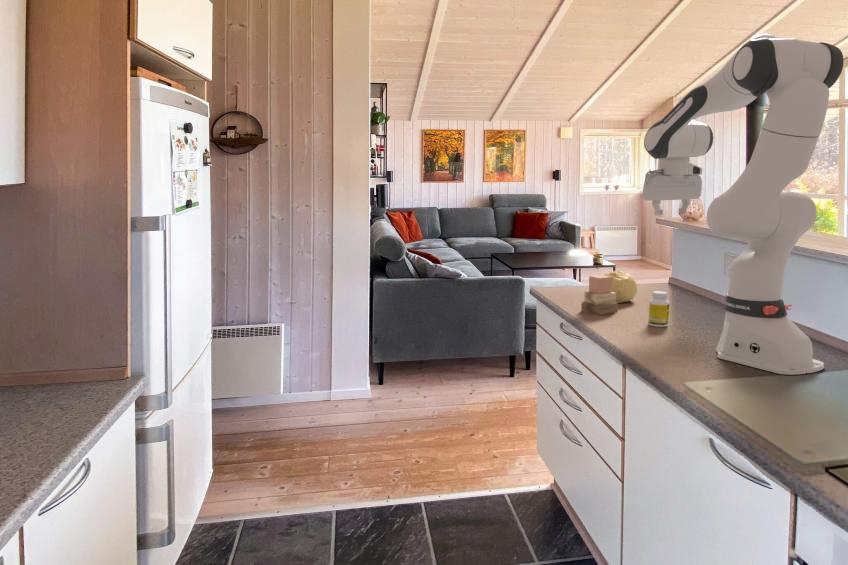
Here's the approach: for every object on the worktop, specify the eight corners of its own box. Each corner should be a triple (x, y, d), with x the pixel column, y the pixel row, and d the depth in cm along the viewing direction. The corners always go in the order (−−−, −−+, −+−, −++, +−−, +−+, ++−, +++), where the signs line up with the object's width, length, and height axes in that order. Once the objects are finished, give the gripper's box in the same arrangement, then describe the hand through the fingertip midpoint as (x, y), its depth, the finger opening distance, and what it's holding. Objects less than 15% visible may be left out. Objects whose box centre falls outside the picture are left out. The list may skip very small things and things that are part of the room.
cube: (611, 292, 183) (612, 277, 182) (599, 293, 181) (599, 278, 180) (601, 289, 187) (601, 274, 186) (588, 291, 185) (589, 276, 185)
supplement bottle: (669, 327, 164) (671, 294, 162) (649, 327, 165) (651, 293, 163) (665, 323, 169) (667, 290, 168) (646, 322, 170) (648, 290, 169)
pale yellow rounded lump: (593, 299, 204) (594, 270, 202) (619, 296, 208) (620, 267, 207) (616, 306, 193) (618, 274, 191) (643, 302, 198) (644, 271, 196)
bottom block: (617, 313, 184) (617, 302, 184) (601, 317, 180) (602, 306, 179) (596, 309, 191) (597, 298, 190) (581, 312, 186) (581, 302, 186)
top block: (615, 303, 182) (616, 293, 182) (596, 305, 180) (597, 294, 180) (602, 299, 189) (603, 289, 188) (584, 301, 187) (584, 290, 186)
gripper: (653, 169, 168) (651, 216, 170) (706, 168, 175) (703, 214, 177) (638, 169, 173) (636, 215, 176) (690, 169, 181) (687, 213, 183)
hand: (670, 214), depth 177 cm, fingers open, 8 cm apart
